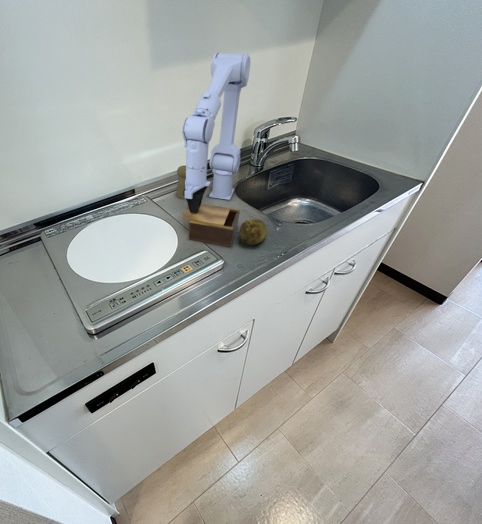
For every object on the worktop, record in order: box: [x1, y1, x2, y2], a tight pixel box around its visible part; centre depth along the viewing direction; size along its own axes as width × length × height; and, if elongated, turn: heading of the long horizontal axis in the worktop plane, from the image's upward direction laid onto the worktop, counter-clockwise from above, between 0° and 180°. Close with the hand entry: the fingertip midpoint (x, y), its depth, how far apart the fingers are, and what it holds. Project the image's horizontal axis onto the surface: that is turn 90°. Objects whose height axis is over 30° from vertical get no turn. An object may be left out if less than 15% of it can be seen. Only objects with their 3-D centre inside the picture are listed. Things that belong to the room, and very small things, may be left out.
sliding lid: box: [180, 204, 230, 226], centre depth 82 cm, size 9×13×5 cm
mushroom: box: [175, 165, 186, 200], centre depth 104 cm, size 6×6×11 cm
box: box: [188, 203, 241, 248], centre depth 85 cm, size 11×13×6 cm
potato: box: [239, 218, 268, 246], centre depth 81 cm, size 8×13×8 cm, turn 132°
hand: (194, 210), depth 84 cm, fingers closed on sliding lid, 2 cm apart
